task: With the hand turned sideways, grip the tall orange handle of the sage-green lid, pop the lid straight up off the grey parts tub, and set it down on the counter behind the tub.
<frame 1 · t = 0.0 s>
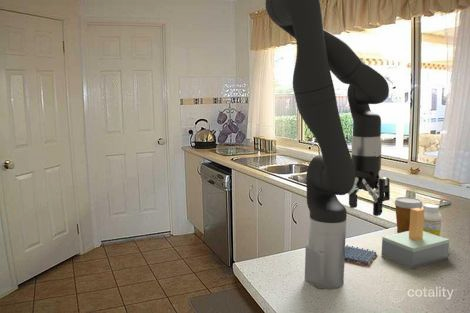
hand: (364, 211, 107), 17 cm above the countertop, tool pointing down, fingers open, 8 cm apart
supplement bottle: (428, 243, 131), on the countertop
disposable coffee cup: (406, 232, 142), on the countertop
parts tub: (414, 256, 119), on the countertop
woven mat: (356, 259, 119), on the countertop
lid: (415, 245, 119), point 4 cm above the countertop, touching parts tub
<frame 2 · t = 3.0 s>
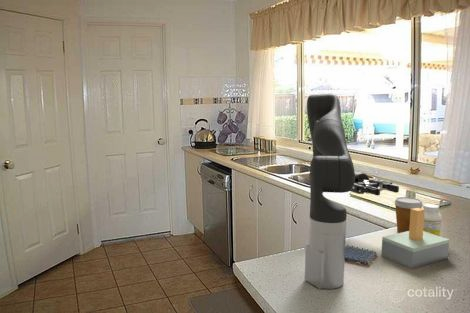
hand: (388, 190, 126), 18 cm above the countertop, tool horizontal, fingers open, 8 cm apart
nothing on the countertop moved.
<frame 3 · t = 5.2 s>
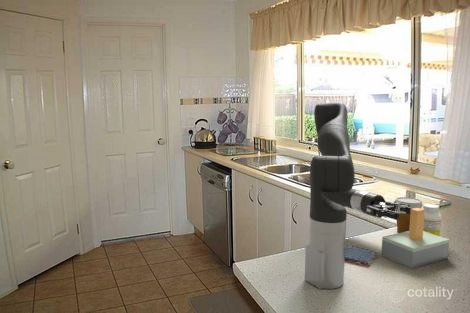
hand: (407, 214, 120), 12 cm above the countertop, tool horizontal, fingers open, 8 cm apart
nothing on the countertop moved.
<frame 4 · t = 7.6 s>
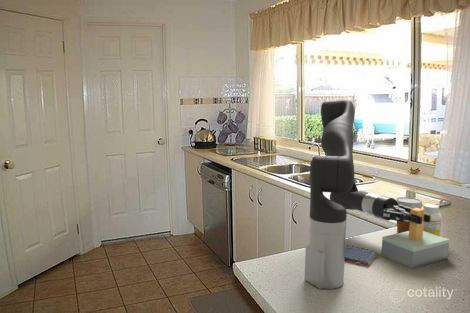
hand: (425, 219, 115), 13 cm above the countertop, tool horizontal, fingers closed on lid, 3 cm apart
lid: (415, 245, 119), point 4 cm above the countertop, touching gripper, parts tub
everything else where it was.
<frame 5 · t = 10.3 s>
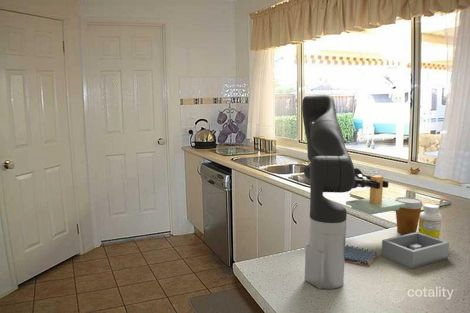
hand: (383, 185, 128), 20 cm above the countertop, tool horizontal, fingers closed on lid, 3 cm apart
lid: (375, 208, 132), point 11 cm above the countertop, touching gripper
everything else where it was.
when the fingers open (10 cm above the countertop, at t = 13.3 s): lid drops 2 cm, on the countertop.
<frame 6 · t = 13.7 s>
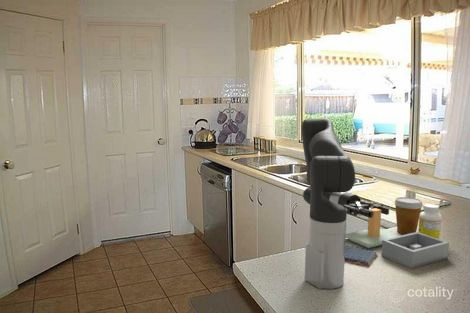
hand: (380, 213, 130), 10 cm above the countertop, tool horizontal, fingers open, 7 cm apart
lid: (373, 241, 133), on the countertop
everything else where it was.
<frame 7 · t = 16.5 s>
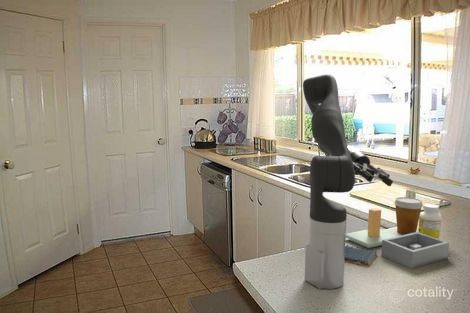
hand: (381, 181, 128), 21 cm above the countertop, tool tilted 70°, fingers open, 8 cm apart
nothing on the countertop moved.
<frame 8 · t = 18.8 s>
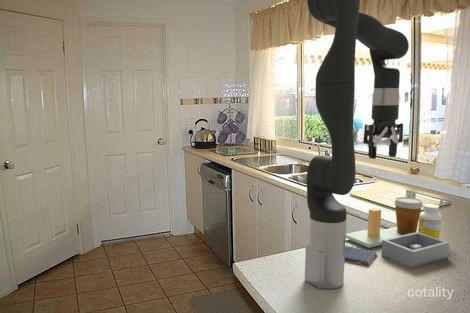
hand: (382, 157, 119), 30 cm above the countertop, tool pointing down, fingers open, 8 cm apart
nothing on the countertop moved.
at the end: lid inside the target area (0.1 cm from its centre), on the countertop; lid tilted 0°; the gripper is holding nothing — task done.
